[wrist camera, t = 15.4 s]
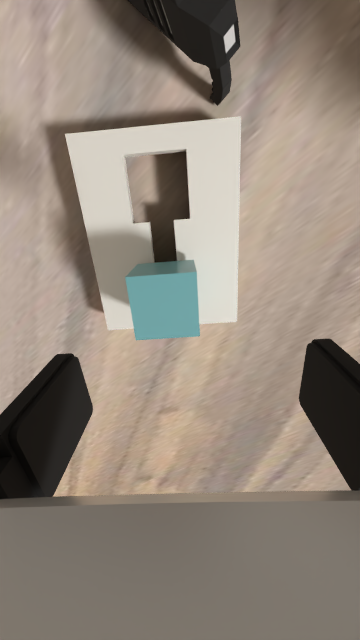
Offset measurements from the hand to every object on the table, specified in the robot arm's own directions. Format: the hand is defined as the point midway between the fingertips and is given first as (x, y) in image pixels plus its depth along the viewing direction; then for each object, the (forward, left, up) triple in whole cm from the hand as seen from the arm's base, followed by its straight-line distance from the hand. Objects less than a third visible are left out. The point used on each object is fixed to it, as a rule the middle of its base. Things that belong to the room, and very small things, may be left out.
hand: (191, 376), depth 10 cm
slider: (+2, +1, -23) cm, 23 cm away
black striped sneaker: (0, -22, -23) cm, 32 cm away
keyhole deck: (+2, -4, -23) cm, 23 cm away
